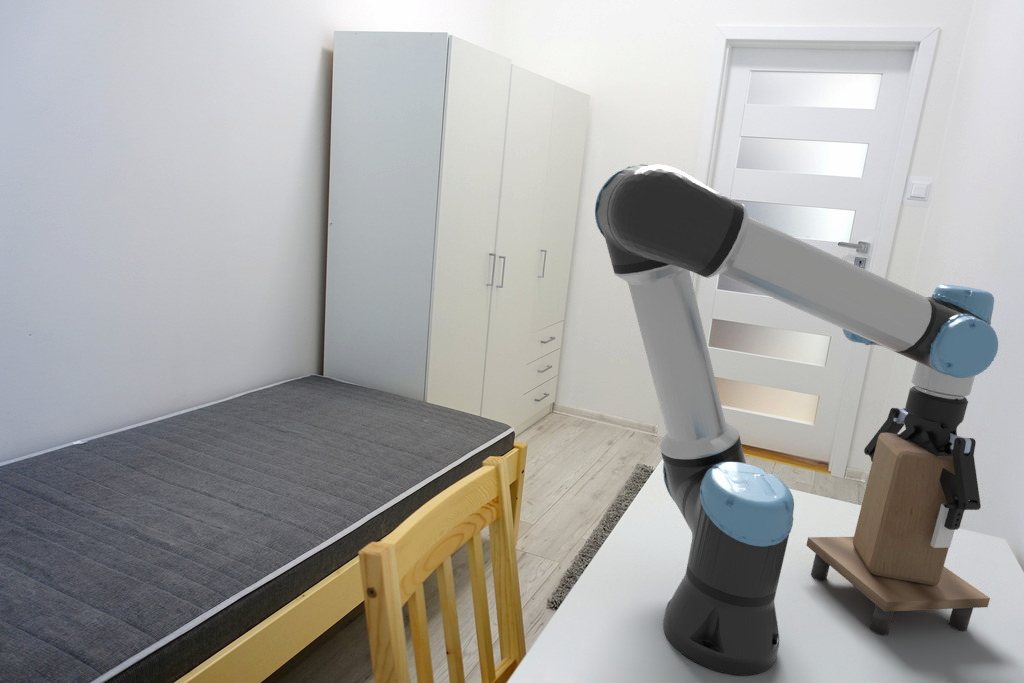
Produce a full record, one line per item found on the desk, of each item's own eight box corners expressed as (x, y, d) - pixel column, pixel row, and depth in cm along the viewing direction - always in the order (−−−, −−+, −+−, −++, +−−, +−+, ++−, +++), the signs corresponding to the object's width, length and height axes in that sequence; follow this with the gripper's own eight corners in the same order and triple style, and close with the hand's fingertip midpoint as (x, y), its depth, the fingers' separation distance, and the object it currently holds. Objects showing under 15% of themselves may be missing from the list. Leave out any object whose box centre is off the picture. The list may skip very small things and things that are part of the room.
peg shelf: (877, 639, 101) (886, 602, 100) (800, 569, 118) (808, 537, 117) (979, 634, 105) (990, 598, 104) (891, 567, 122) (899, 536, 121)
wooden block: (940, 589, 105) (975, 463, 100) (869, 576, 106) (901, 452, 102) (913, 555, 115) (944, 439, 110) (849, 544, 116) (877, 429, 111)
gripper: (1038, 422, 93) (994, 567, 98) (898, 368, 117) (869, 487, 121) (991, 420, 91) (950, 568, 96) (859, 366, 115) (831, 487, 120)
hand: (904, 523), depth 109 cm, fingers open, 13 cm apart
